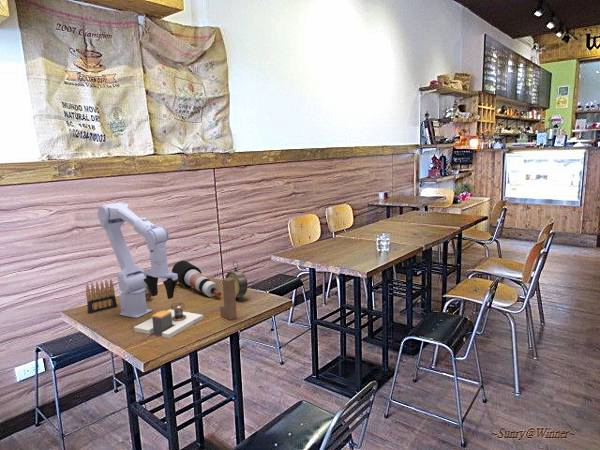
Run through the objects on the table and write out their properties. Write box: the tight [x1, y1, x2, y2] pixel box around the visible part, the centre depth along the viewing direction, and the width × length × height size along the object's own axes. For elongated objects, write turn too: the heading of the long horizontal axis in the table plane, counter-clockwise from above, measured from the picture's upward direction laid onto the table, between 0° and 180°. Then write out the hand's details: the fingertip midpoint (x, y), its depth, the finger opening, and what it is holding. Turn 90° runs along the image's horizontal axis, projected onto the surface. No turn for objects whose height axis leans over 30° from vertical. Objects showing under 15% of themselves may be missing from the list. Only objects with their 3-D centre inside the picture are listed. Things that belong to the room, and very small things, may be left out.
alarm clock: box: [225, 260, 248, 302], centre depth 180 cm, size 11×5×16 cm, turn 42°
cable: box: [171, 260, 223, 298], centre depth 193 cm, size 10×34×10 cm, turn 41°
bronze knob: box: [170, 302, 186, 321], centre depth 157 cm, size 5×5×5 cm
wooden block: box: [219, 277, 238, 321], centre depth 160 cm, size 7×3×15 cm, turn 40°
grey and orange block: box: [151, 310, 173, 336], centre depth 150 cm, size 4×5×7 cm
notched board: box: [133, 308, 204, 339], centre depth 156 cm, size 16×18×2 cm
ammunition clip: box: [85, 278, 118, 315], centre depth 173 cm, size 11×2×12 cm, turn 128°
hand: (162, 296), depth 158 cm, fingers open, 7 cm apart
